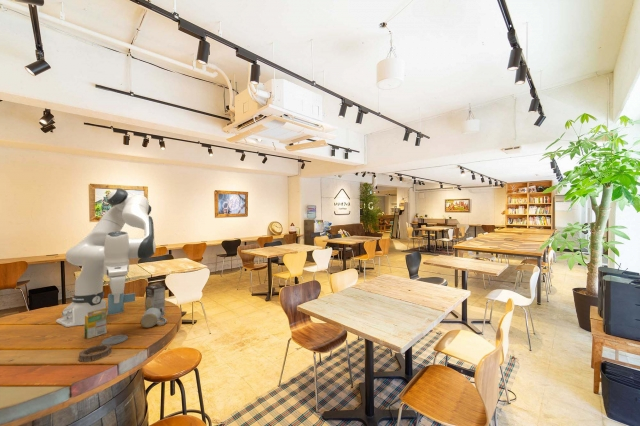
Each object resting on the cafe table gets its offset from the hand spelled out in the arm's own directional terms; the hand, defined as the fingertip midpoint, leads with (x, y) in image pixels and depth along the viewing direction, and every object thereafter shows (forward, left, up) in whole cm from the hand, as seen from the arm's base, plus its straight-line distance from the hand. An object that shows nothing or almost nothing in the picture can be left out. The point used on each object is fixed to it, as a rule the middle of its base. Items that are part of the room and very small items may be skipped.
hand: (115, 300), depth 115 cm
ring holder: (+6, -11, -17) cm, 21 cm away
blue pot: (+1, +2, -5) cm, 5 cm away
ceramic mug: (0, +18, -17) cm, 25 cm away
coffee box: (-11, +28, -17) cm, 35 cm away
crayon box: (-14, +1, -17) cm, 22 cm away
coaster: (0, 0, -17) cm, 17 cm away
